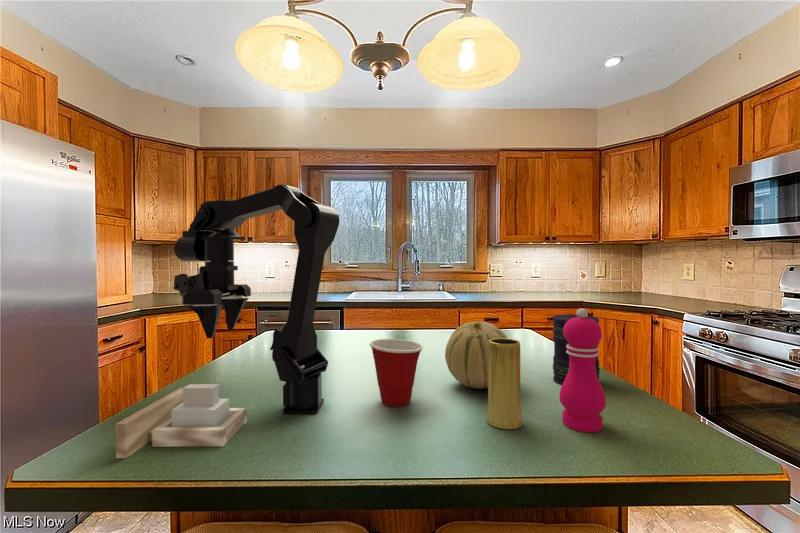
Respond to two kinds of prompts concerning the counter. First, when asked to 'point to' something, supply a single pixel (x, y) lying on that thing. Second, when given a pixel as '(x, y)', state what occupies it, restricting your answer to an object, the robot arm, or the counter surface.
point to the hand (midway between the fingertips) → (220, 333)
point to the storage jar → (564, 349)
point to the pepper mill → (582, 375)
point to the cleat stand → (171, 428)
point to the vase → (504, 384)
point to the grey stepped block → (201, 407)
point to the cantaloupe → (471, 353)
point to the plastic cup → (395, 369)
